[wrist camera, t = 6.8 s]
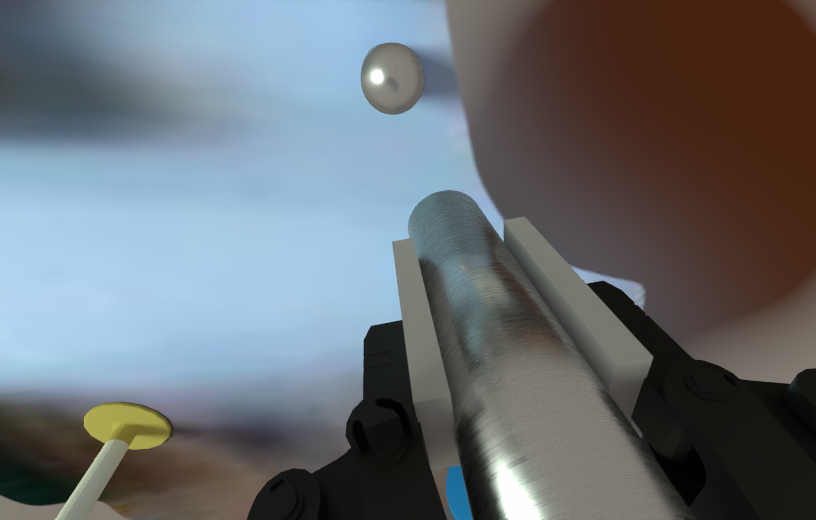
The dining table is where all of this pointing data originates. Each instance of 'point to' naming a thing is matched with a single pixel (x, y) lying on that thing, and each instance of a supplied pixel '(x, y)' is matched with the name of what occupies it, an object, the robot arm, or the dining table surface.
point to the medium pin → (392, 78)
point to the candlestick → (113, 448)
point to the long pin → (525, 387)
